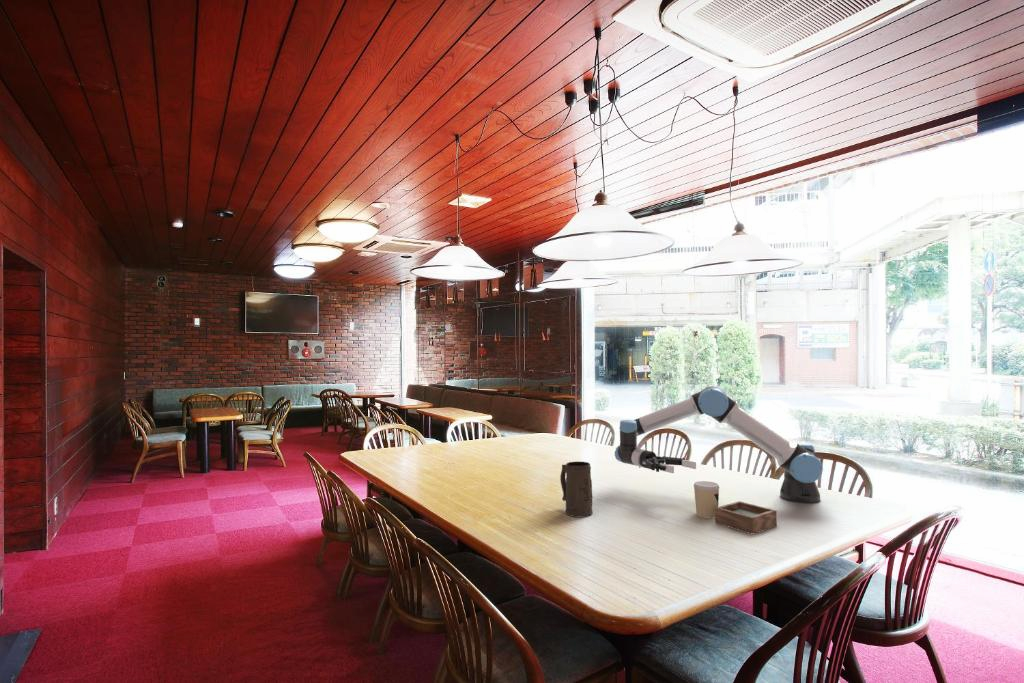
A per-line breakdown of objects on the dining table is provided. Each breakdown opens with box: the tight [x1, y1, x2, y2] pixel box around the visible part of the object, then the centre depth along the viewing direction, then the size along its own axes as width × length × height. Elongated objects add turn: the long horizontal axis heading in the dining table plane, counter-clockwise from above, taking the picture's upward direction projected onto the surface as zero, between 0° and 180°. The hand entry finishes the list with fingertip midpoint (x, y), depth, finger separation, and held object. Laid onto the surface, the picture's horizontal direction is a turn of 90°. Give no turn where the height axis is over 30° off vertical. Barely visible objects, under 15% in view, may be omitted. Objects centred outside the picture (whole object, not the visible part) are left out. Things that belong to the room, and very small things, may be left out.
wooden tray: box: [714, 500, 778, 535], centre depth 192 cm, size 15×15×6 cm
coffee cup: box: [693, 480, 720, 519], centre depth 203 cm, size 9×9×12 cm
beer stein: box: [559, 461, 594, 517], centre depth 210 cm, size 15×11×20 cm
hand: (684, 467), depth 212 cm, fingers open, 13 cm apart
